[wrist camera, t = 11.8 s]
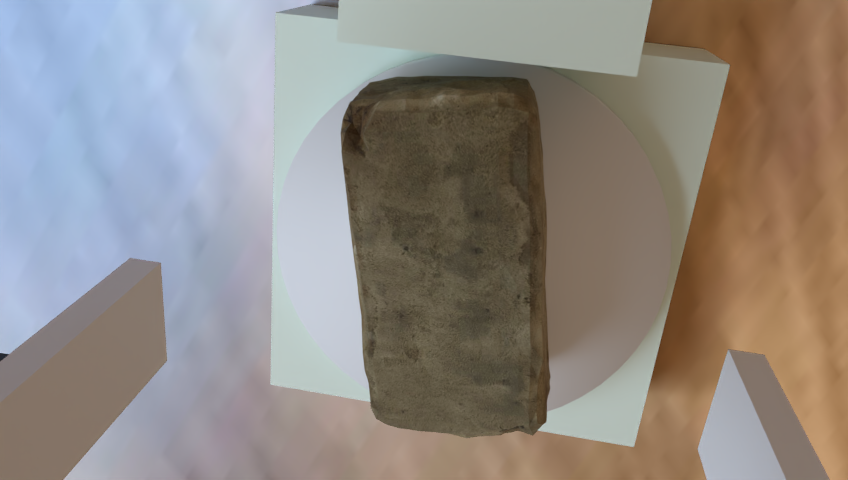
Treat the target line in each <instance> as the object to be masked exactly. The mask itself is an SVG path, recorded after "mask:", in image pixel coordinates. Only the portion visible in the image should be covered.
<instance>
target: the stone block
mask: <svg viewBox="0 0 848 480" xmlns="http://www.w3.org/2000/svg"><path fill="white" fill-rule="evenodd" d="M341 147H342V150H341V153H342V162H343V170H344V178H345V187H346V195H347V204H348V215H349V223H350V231H351V239H352V247H353V255H354V263H355V270H356V277H357V286H358V295H359V303H360V310H361V319H362V348H363V360H364V370H365V373H366V376H367V379H368V383H369V392H370V403H371V409H372V411H373V413H374V415H375V417H376V419H378V420H380V421H381V422H383V423H385V424H387V425H390V426H394V427H397V428H403V429H410V430H417V431H427V432H439V433H449V434H453V435H457V436H461V437H464V438H470V437H477V436H493V435H502V434H504V433H509V432H514V431H522V432H524V433H527V434H530V435H534V434H535V433H536V432H537V430H538V429H539V428H540V427H541V426H542V425H543V424H545V423H546V421H547V399H548V395H549V392H550V378H551V376H550V370H549V351H548V331H547V308H546V288H545V273H546V250H547V212H546V198H545V189H544V172H543V148H542V141H541V128H540V118H539V110H538V104H537V100H536V96H535V92H534V90H533V89H532V87H531V86H530V83H529V81H528V80H527V79H522V78H515V77H479V76H416V77H393V78H388V79H384V80H380V81H374V82H369V84H368V85H367V86H366V87H365V88H363V89H362V90H361V91H359V94H358V95H357V96H356V97H355V98H354V100H352V101H351V102H350V103H349V105H348V107H347V110H346V112H345V114H344V117H343V120H342V127H341Z"/></svg>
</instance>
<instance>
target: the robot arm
mask: <svg viewBox="0 0 848 480" xmlns="http://www.w3.org/2000/svg"><path fill="white" fill-rule="evenodd" d="M166 361H167V353H166V338H165V322H164V307H163V291H162V276H161V263H159V262H153V261H146V260H140V259H133V258H130V259H128V260H127V261H126V262H125V263H123V264H122V265H121V266H120V267H118V268H117V269H116V270H115V271H113V272H112V273H111V274H110V275H108V276H107V277H106V278H105V279H103V280H102V281H101V282H100V283H98V284H97V285H96V286H94V287H93V288H92V289H91V290H89V291H88V292H87V293H86V294H84V295H83V296H82V297H81V298H79V299H78V300H77V301H76V302H74V303H73V304H72V305H71V306H69V307H68V308H67V309H66V310H64V311H63V312H62V313H61V314H59V315H58V316H57V317H56V318H54V319H53V320H52V321H50V322H49V323H48V324H47V325H45V326H44V327H43V328H42V329H40V330H39V331H38V332H37V333H35V334H34V335H33V336H32V337H30V338H29V339H28V340H27V341H25V342H24V343H23V344H22V345H20V346H19V347H18V348H17V349H15V350H14V351H13V352H12V353H10V354H3V353H0V480H63V479H64V478H65V477H66V476H67V475H68V473H69V472H70V471H71V470H72V469H73V468H74V467H75V465H76V464H77V463H78V462H79V461H80V460H81V459H82V457H83V456H84V455H85V454H86V453H87V452H88V451H89V449H90V448H91V447H92V446H93V445H94V444H95V443H96V441H97V440H98V439H99V438H100V437H101V436H102V434H103V433H104V432H105V431H106V430H107V429H108V428H109V426H110V425H111V424H112V423H113V422H114V421H115V420H116V418H117V417H118V416H119V415H120V414H121V413H122V412H123V410H124V409H125V408H126V407H127V406H128V405H129V404H130V402H131V401H132V400H133V399H134V398H135V397H136V395H137V394H138V393H139V392H140V391H141V390H142V389H143V387H144V386H145V385H146V384H147V383H148V382H149V381H150V379H151V378H152V377H153V376H154V375H155V374H156V373H157V371H158V370H159V369H160V368H161V367H162V366H163V365H164V363H165V362H166ZM698 451H699V455H700V458H701V461H702V465H703V468H704V471H705V475H706V478H707V480H830V479H829V477H828V475H827V474H826V472H825V470H824V468H823V466H822V464H821V462H820V460H819V458H818V456H817V454H816V452H815V451H814V449H813V447H812V445H811V443H810V441H809V439H808V437H807V435H806V433H805V431H804V430H803V428H802V426H801V424H800V422H799V420H798V418H797V416H796V414H795V412H794V410H793V409H792V407H791V405H790V403H789V401H788V399H787V397H786V395H785V393H784V391H783V389H782V388H781V386H780V384H779V382H778V380H777V378H776V376H775V374H774V372H773V370H772V368H771V367H770V365H769V363H768V361H767V359H766V357H765V355H763V354H756V353H750V352H743V351H737V350H730V349H728V352H727V355H726V358H725V362H724V365H723V368H722V371H721V375H720V378H719V381H718V384H717V388H716V391H715V394H714V398H713V401H712V404H711V407H710V411H709V414H708V417H707V420H706V424H705V427H704V430H703V434H702V437H701V440H700V443H699V447H698Z"/></svg>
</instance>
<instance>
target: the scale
mask: <svg viewBox="0 0 848 480" xmlns="http://www.w3.org/2000/svg"><path fill="white" fill-rule="evenodd" d="M651 4H652V0H339V6H338V7H329V6H320V5H311V4H310V5H306V6H302V7H298V8H293V9H289V10H285V11H280V12H276V20H275V95H274V169H273V244H272V318H271V385H276V386H282V387H287V388H293V389H299V390H305V391H311V392H317V393H322V394H328V395H334V396H340V397H346V398H352V399H357V400H363V401H369V402H370V392H369V383H368V379H367V376H366V373H365V370H364V360H363V348H362V319H361V310H360V303H359V295H358V286H357V277H356V270H355V263H354V255H353V247H352V239H351V231H350V223H349V215H348V204H347V195H346V187H345V178H344V170H343V162H342V153H341V150H342V147H341V127H342V120H343V117H344V114H345V112H346V110H347V107H348V105H349V103H350V102H351V101H352V100H354V98H355V97H356V96H357V95H358V94H359V91H361V90H362V89H363V88H365V87H366V86H367V85H368V84H369V82H374V81H380V80H384V79H388V78H393V77H416V76H479V77H515V78H522V79H527V80H528V81H529V83H530V86H531V87H532V89H533V90H534V92H535V96H536V100H537V104H538V110H539V118H540V128H541V141H542V148H543V172H544V189H545V198H546V212H547V250H546V273H545V288H546V308H547V331H548V351H549V370H550V376H551V378H550V392H549V395H548V399H547V421H546V423H545V424H543V425H542V426H541V427H540V428H539V429H538V431H544V432H549V433H555V434H561V435H567V436H573V437H579V438H584V439H590V440H596V441H602V442H608V443H613V444H619V445H625V446H631V447H634V444H635V440H636V436H637V432H638V428H639V424H640V420H641V416H642V412H643V408H644V404H645V401H646V397H647V393H648V389H649V385H650V381H651V377H652V373H653V369H654V365H655V361H656V357H657V353H658V349H659V345H660V341H661V337H662V333H663V329H664V325H665V321H666V317H667V313H668V309H669V305H670V301H671V298H672V294H673V290H674V286H675V282H676V278H677V274H678V270H679V266H680V262H681V258H682V254H683V250H684V246H685V242H686V238H687V234H688V230H689V226H690V222H691V218H692V214H693V210H694V206H695V202H696V198H697V195H698V191H699V187H700V183H701V179H702V175H703V171H704V167H705V163H706V159H707V155H708V151H709V147H710V143H711V139H712V135H713V131H714V127H715V123H716V119H717V115H718V111H719V107H720V103H721V99H722V95H723V92H724V88H725V84H726V80H727V76H728V72H729V68H730V64H728V63H727V62H725V61H723V60H722V59H720V58H718V57H717V56H715V55H714V54H712V53H710V52H709V51H707V50H706V49H701V48H692V47H683V46H674V45H665V44H656V43H648V42H644V39H645V34H646V29H647V24H648V19H649V14H650V9H651Z"/></svg>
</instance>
